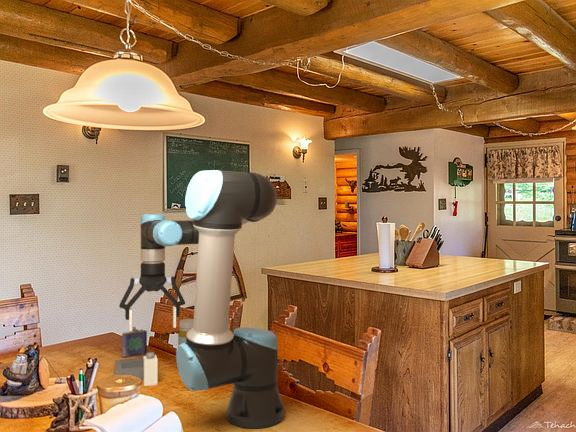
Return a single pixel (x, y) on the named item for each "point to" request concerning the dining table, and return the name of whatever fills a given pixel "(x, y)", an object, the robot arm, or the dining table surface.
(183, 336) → the bottle
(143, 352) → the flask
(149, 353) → the cream rectangular container
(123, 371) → the socket
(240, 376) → the robot arm
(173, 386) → the dining table surface
